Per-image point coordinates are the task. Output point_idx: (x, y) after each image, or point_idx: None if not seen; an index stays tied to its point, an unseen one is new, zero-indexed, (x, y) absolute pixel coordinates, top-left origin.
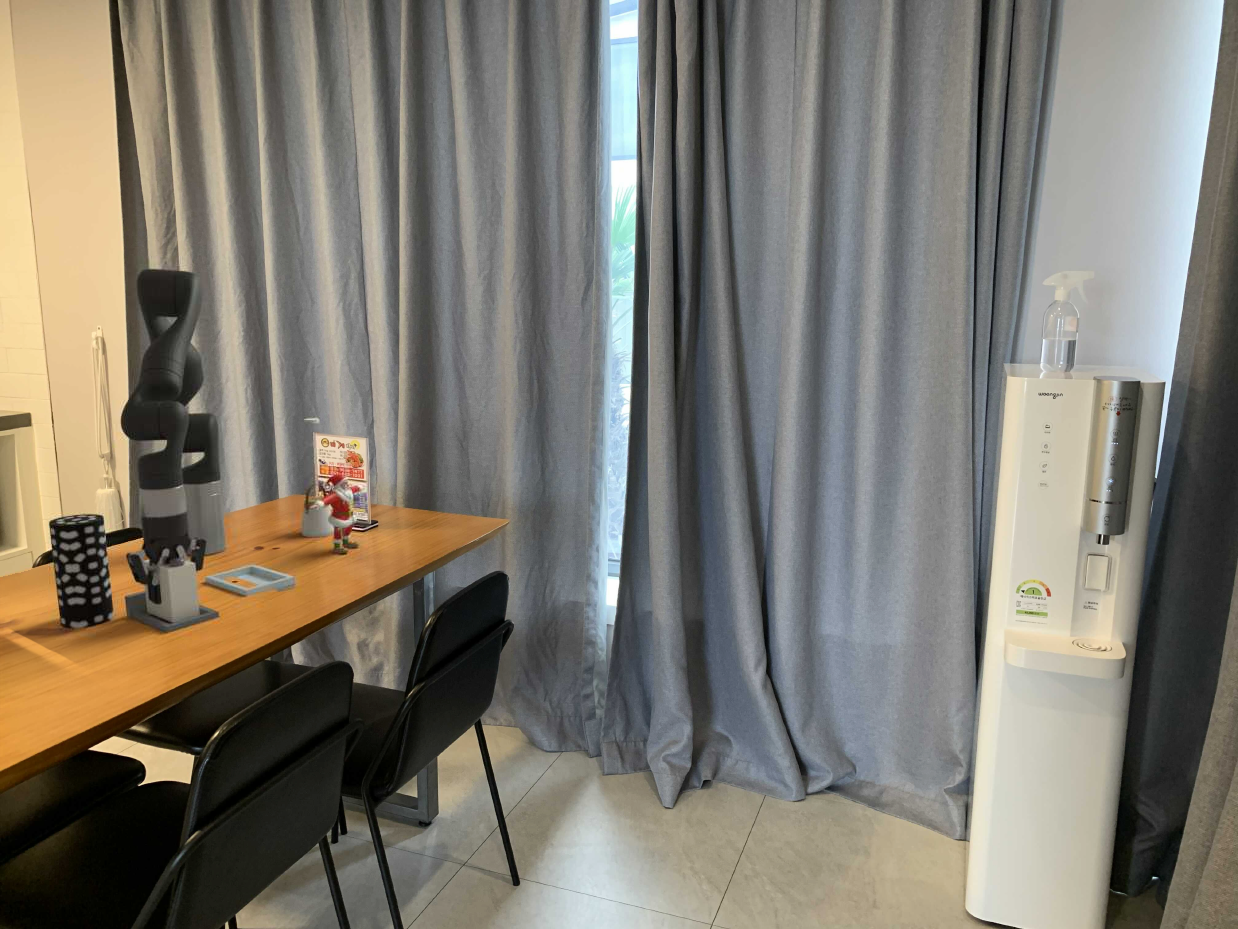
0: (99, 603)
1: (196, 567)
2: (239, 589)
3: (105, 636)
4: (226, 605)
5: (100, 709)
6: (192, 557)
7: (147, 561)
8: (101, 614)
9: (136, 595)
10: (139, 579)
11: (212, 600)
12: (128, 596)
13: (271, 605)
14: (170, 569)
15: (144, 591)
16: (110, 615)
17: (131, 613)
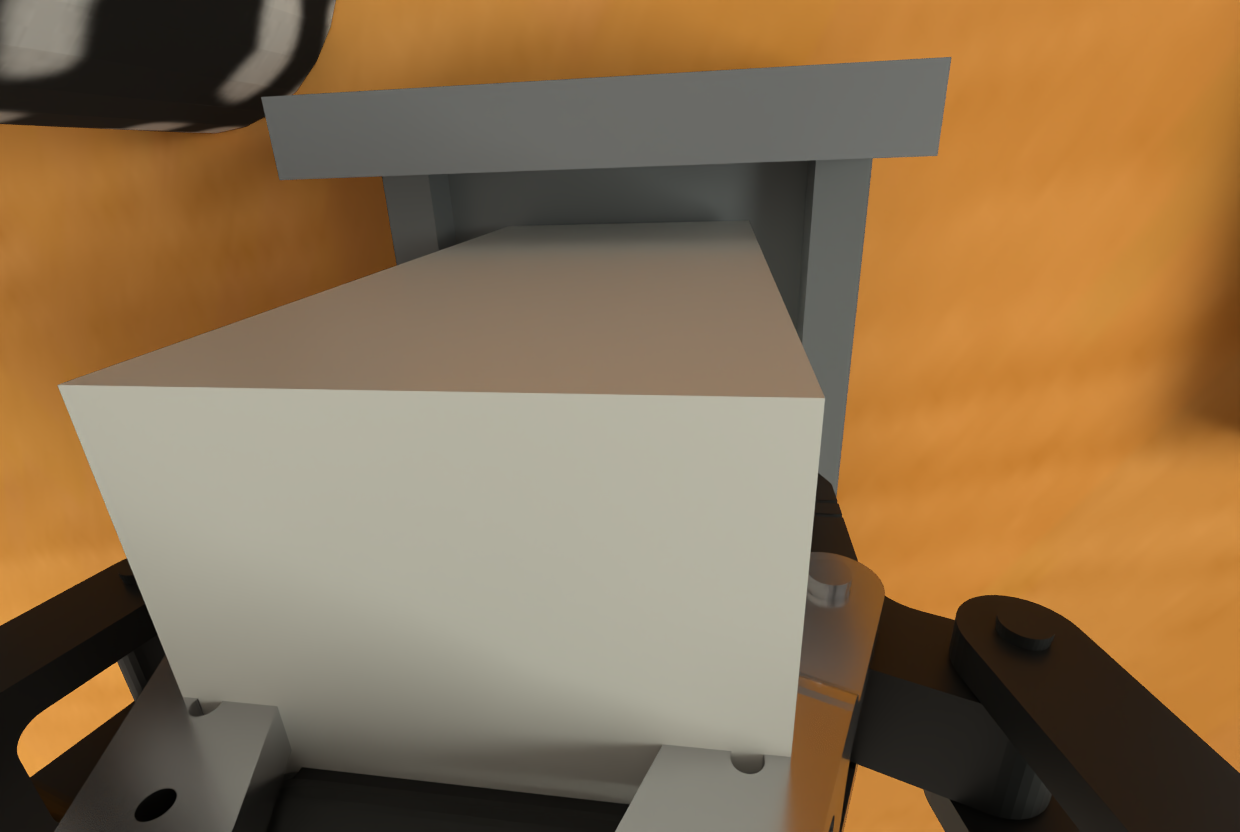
0: (27, 115)
1: (930, 803)
2: None
3: (229, 302)
4: (1088, 398)
5: None
6: (1080, 824)
7: (155, 531)
8: (141, 121)
9: (370, 175)
10: (113, 721)
11: (1149, 169)
12: (288, 158)
13: (1236, 655)
14: None
15: (472, 117)
16: (247, 75)
17: (387, 189)
